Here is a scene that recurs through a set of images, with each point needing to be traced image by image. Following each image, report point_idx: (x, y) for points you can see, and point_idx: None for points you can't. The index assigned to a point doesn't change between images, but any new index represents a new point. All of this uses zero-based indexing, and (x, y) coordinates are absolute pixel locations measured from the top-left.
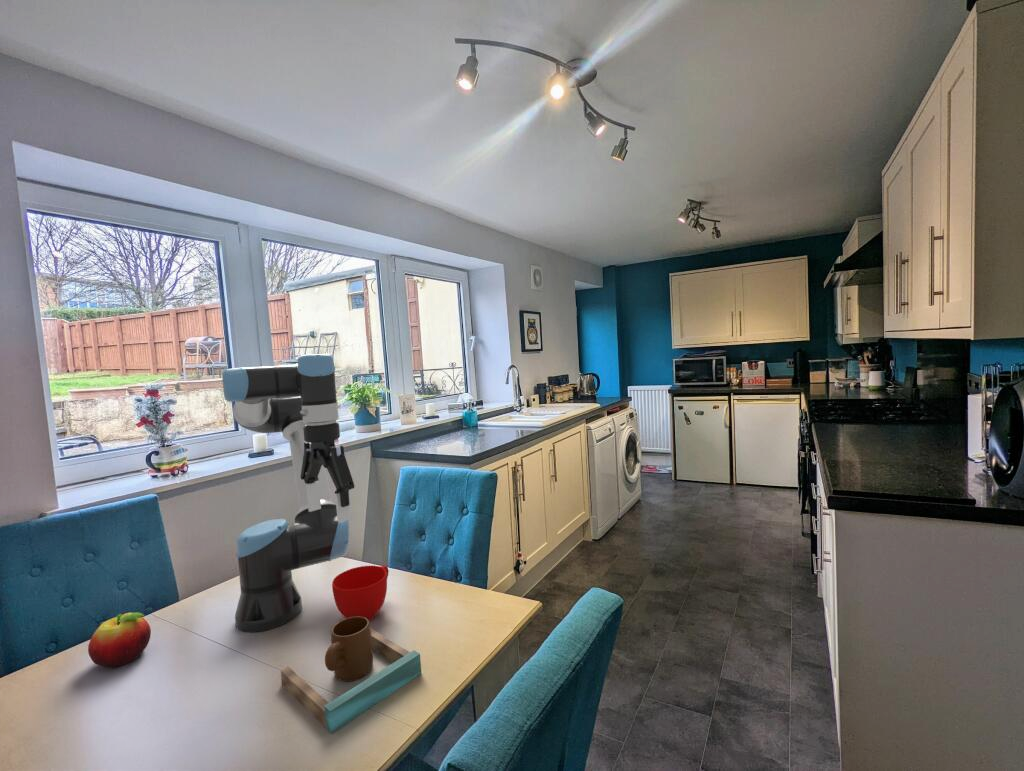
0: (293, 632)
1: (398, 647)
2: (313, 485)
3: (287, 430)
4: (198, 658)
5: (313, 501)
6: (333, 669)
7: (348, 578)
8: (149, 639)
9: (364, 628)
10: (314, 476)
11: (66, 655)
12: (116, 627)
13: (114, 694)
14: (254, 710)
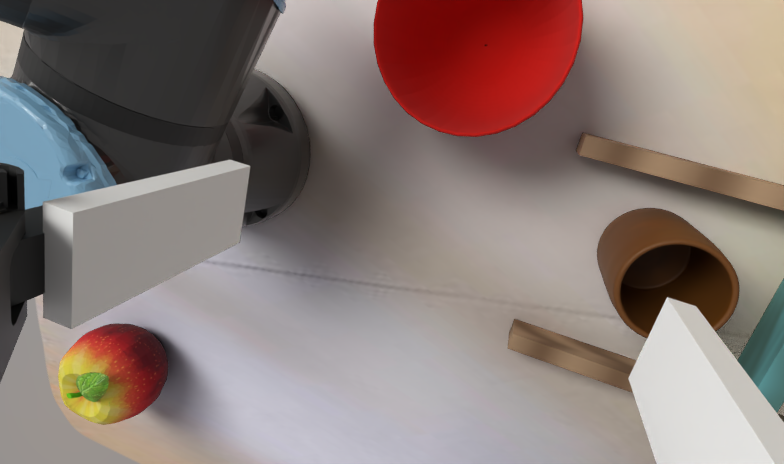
0: (363, 182)
1: (775, 192)
2: (94, 264)
3: None
4: (263, 315)
5: (201, 231)
6: None
7: (391, 12)
8: (142, 335)
9: (736, 293)
10: (5, 295)
11: (55, 367)
12: (106, 410)
13: (241, 416)
14: (519, 396)
